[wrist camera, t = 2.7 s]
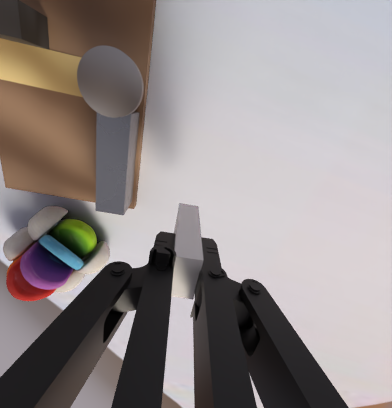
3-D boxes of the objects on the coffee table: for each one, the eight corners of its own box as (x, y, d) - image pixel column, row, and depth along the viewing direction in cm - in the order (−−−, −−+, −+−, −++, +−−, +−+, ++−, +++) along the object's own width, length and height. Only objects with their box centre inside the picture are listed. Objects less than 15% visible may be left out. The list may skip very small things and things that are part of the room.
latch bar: (110, 106, 18) (96, 106, 15) (139, 112, 18) (131, 113, 15) (107, 197, 21) (95, 210, 19) (131, 201, 22) (123, 215, 19)
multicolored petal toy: (11, 237, 25) (-53, 285, 18) (66, 189, 22) (15, 224, 16) (71, 280, 28) (34, 336, 21) (125, 242, 25) (102, 290, 19)
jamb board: (-34, -108, 14) (-159, -227, 9) (169, -47, 15) (159, -120, 10) (13, 184, 22) (-38, 207, 17) (141, 205, 23) (128, 233, 18)
